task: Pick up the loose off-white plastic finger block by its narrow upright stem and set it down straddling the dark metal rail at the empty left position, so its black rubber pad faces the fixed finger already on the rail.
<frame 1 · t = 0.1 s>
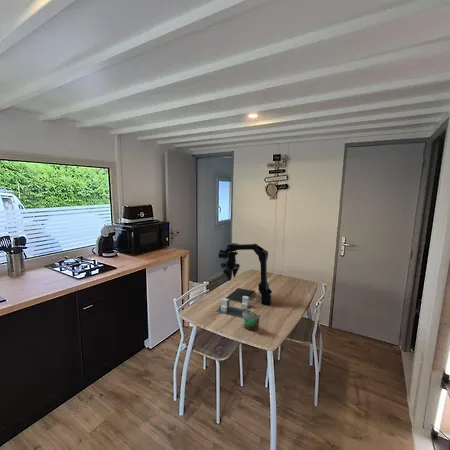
hand: (231, 278, 200), 15 cm above the table, fingers open, 9 cm apart
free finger: (245, 306, 184), on the table
fixed finger: (225, 309, 179), resting on rail
hardcover book: (240, 297, 202), on the table
rail: (233, 312, 177), on the table
food container: (248, 328, 156), on the table
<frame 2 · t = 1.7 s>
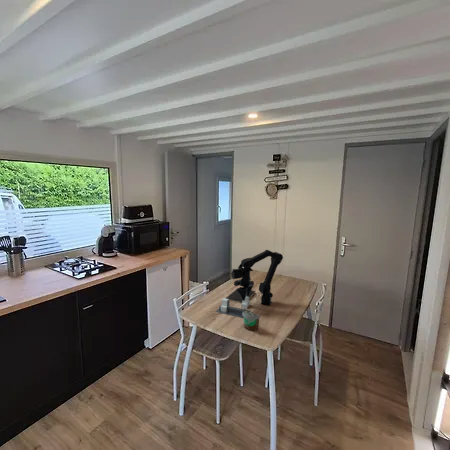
hand: (245, 298, 183), 7 cm above the table, fingers open, 9 cm apart
nothing on the table moved.
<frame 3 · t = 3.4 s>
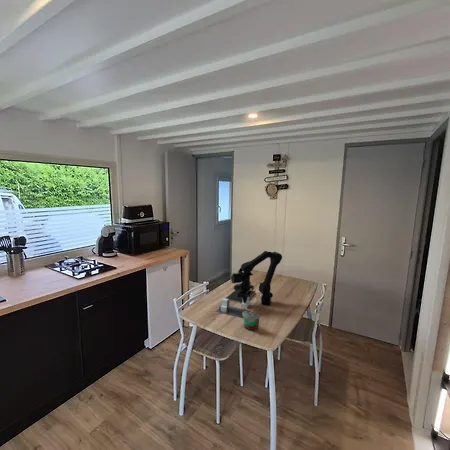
hand: (245, 302, 184), 4 cm above the table, fingers closed on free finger, 3 cm apart
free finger: (245, 306, 184), on the table, touching gripper
everything else where it was.
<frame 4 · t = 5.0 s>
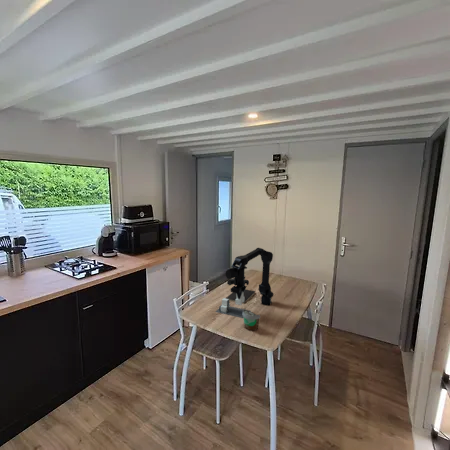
hand: (240, 297, 173), 11 cm above the table, fingers closed on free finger, 3 cm apart
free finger: (239, 302, 173), point 8 cm above the table, touching gripper
everything else where it was.
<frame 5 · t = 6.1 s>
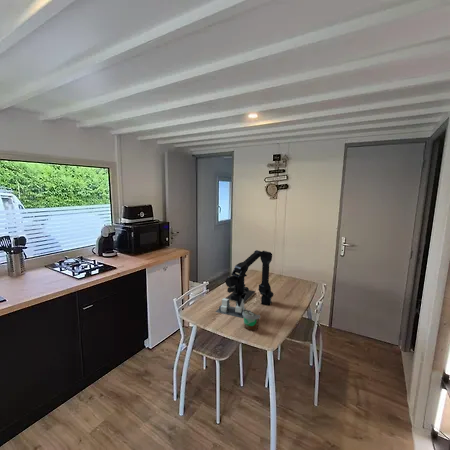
hand: (240, 305, 174), 6 cm above the table, fingers closed on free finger, 3 cm apart
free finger: (239, 310, 174), point 2 cm above the table, touching gripper
everything else where it was.
when the fingers open (6 cm above the table, at t = 6.8 s): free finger drops 1 cm, resting on rail.
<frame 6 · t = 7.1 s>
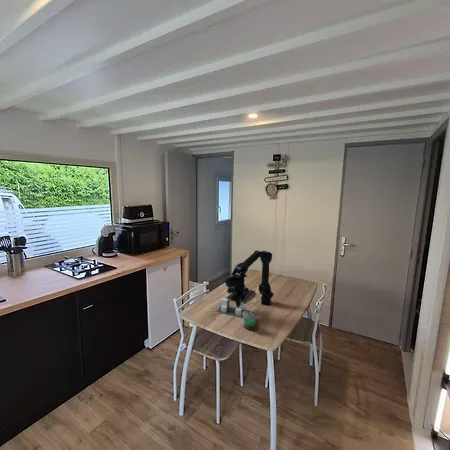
hand: (240, 305, 174), 6 cm above the table, fingers open, 6 cm apart
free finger: (239, 312, 174), point 1 cm above the table, touching rail
everything else where it was.
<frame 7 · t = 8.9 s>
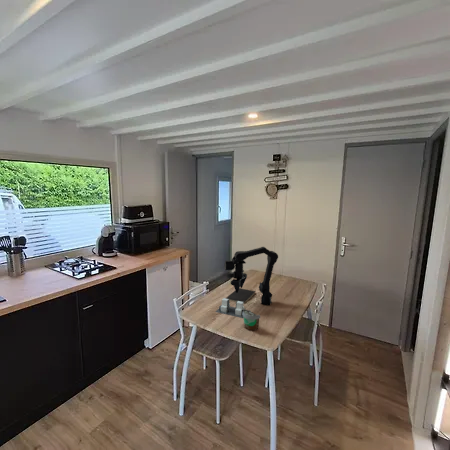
hand: (239, 290, 184), 12 cm above the table, fingers open, 9 cm apart
nothing on the table moved.
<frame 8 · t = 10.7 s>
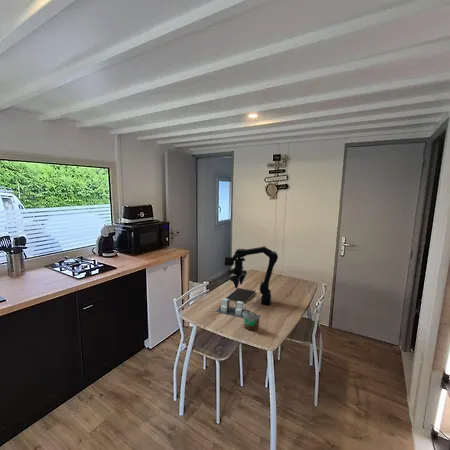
hand: (238, 286, 191), 12 cm above the table, fingers open, 9 cm apart
nothing on the table moved.
at the end: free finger 0.1 cm from the target spot on the rail, point 0.6 cm above the rail's base; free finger tilted 0°; the gripper is holding nothing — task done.
